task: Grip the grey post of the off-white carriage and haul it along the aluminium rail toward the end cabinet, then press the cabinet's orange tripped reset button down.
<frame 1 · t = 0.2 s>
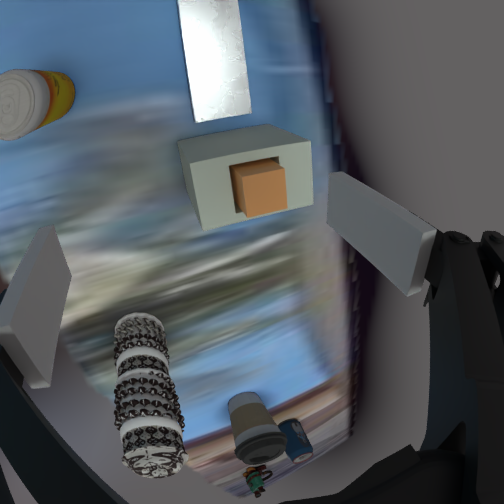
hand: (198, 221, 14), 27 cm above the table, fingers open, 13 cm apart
reset button: (257, 184, 31), point 12 cm above the table, slide at 0.0 cm
end cabinet: (227, 157, 41), on the table
soda can: (286, 423, 82), on the table
coffee cup: (242, 400, 69), on the table
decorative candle: (139, 330, 51), on the table
rail: (208, 23, 32), on the table
binoculars: (256, 468, 95), on the table
beer can: (53, 96, 30), on the table
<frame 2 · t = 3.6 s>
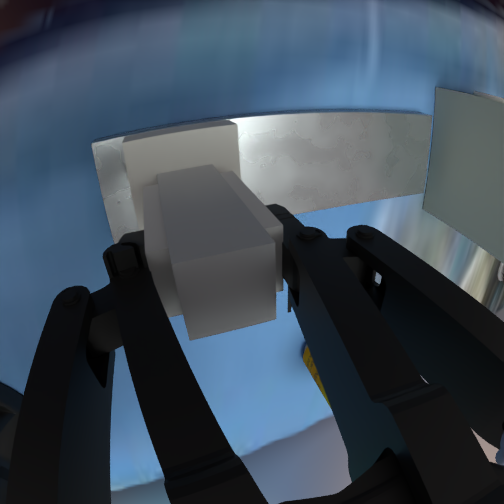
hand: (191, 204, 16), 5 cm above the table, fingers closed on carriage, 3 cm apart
carriage: (198, 221, 14), point 7 cm above the table, slide at 0.0 cm, touching gripper
end cabinet: (452, 149, 26), on the table
rail: (288, 160, 22), on the table
beer can: (324, 341, 34), on the table
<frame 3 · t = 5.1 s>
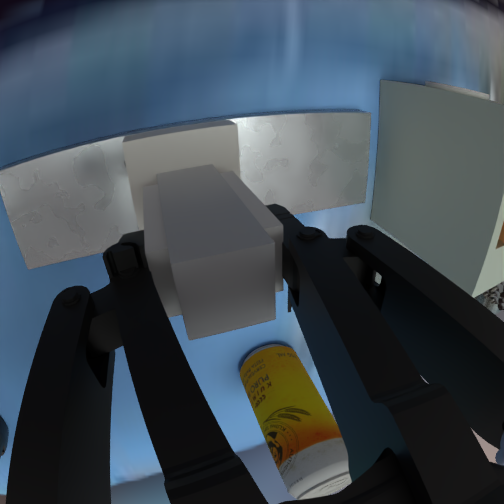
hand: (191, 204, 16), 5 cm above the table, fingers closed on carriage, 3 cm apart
carriage: (198, 221, 14), point 7 cm above the table, slide at 6.7 cm, touching gripper
end cabinet: (407, 151, 25), on the table
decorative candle: (491, 268, 41), on the table
rail: (192, 173, 20), on the table
beer can: (265, 359, 32), on the table
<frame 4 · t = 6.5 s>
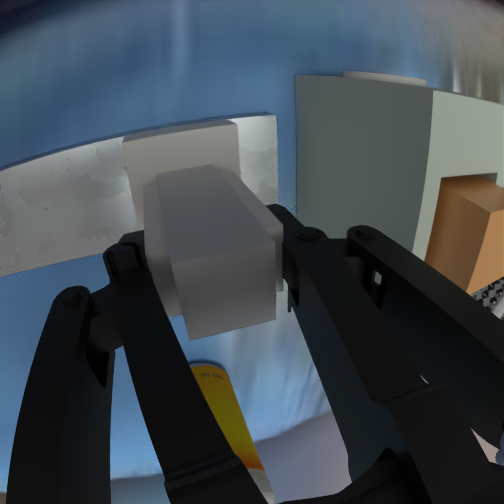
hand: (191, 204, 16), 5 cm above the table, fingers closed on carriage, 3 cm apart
carriage: (198, 221, 14), point 7 cm above the table, slide at 13.9 cm, touching gripper
reset button: (463, 223, 13), point 12 cm above the table, slide at 0.0 cm
end cabinet: (338, 155, 23), on the table
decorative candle: (467, 279, 39), on the table
rail: (85, 196, 19), on the table
beer can: (197, 377, 30), on the table
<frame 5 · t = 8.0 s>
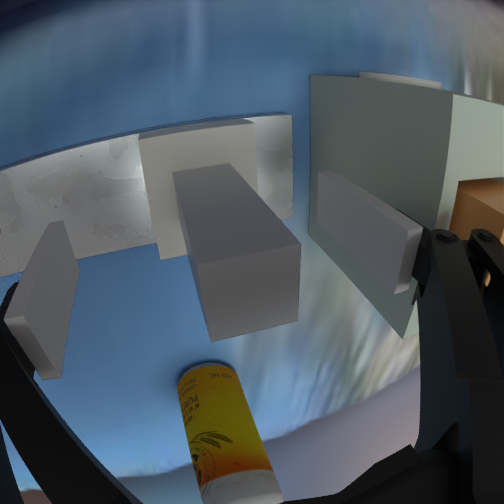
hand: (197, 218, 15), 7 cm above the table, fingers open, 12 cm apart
carriage: (216, 220, 14), point 7 cm above the table, slide at 14.0 cm
reset button: (477, 226, 13), point 12 cm above the table, slide at 0.0 cm
end cabinet: (352, 155, 23), on the table
rail: (96, 194, 19), on the table
beer can: (205, 377, 30), on the table
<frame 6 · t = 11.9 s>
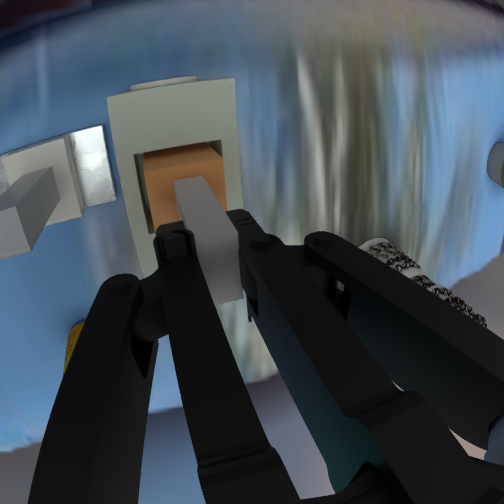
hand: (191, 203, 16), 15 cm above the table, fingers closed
carriage: (28, 202, 20), point 7 cm above the table, slide at 14.0 cm
reset button: (182, 187, 18), point 12 cm above the table, slide at 0.2 cm, touching gripper
end cabinet: (167, 148, 28), on the table
coffee cup: (495, 160, 44), on the table
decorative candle: (369, 263, 44), on the table
beer can: (92, 335, 36), on the table
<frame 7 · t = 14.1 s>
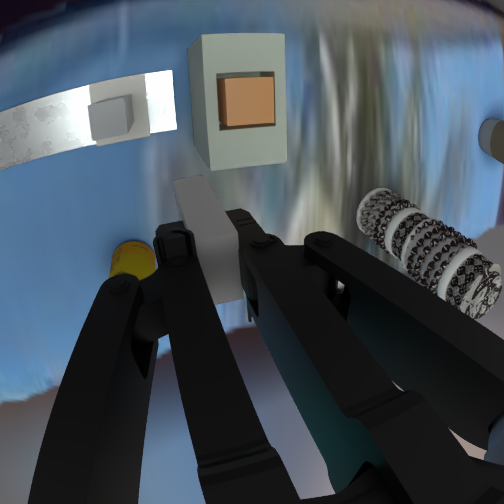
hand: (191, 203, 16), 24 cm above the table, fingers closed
carriage: (115, 113, 27), point 7 cm above the table, slide at 14.0 cm
reset button: (242, 99, 26), point 11 cm above the table, slide at 1.5 cm
end cabinet: (219, 93, 35), on the table
coffee cup: (486, 134, 50), on the table
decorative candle: (376, 210, 51), on the table
rail: (70, 118, 31), on the table
beer can: (134, 257, 43), on the table
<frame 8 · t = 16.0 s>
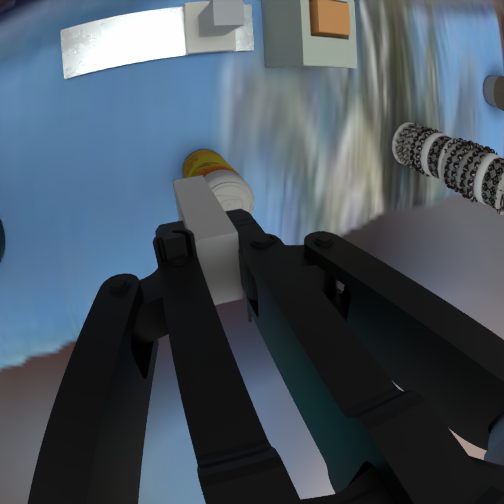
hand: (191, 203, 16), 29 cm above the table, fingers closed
carriage: (216, 20, 29), point 7 cm above the table, slide at 14.0 cm
reset button: (323, 19, 29), point 11 cm above the table, slide at 1.5 cm
end cabinet: (286, 28, 38), on the table
coffee cup: (489, 89, 53), on the table
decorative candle: (407, 142, 54), on the table
rail: (156, 35, 34), on the table
beer can: (202, 168, 45), on the table
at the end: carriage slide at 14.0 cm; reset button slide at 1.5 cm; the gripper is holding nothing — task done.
